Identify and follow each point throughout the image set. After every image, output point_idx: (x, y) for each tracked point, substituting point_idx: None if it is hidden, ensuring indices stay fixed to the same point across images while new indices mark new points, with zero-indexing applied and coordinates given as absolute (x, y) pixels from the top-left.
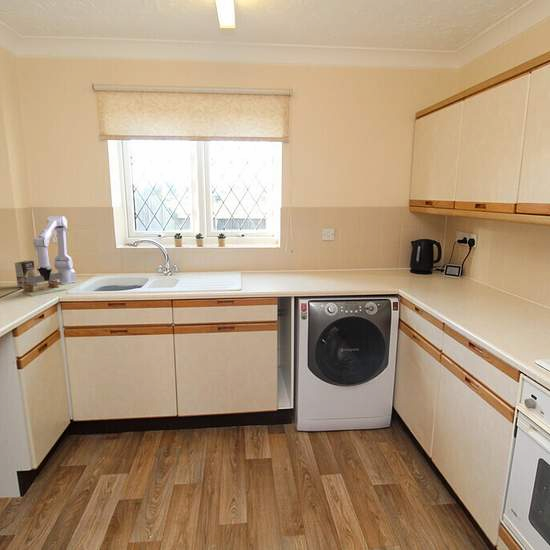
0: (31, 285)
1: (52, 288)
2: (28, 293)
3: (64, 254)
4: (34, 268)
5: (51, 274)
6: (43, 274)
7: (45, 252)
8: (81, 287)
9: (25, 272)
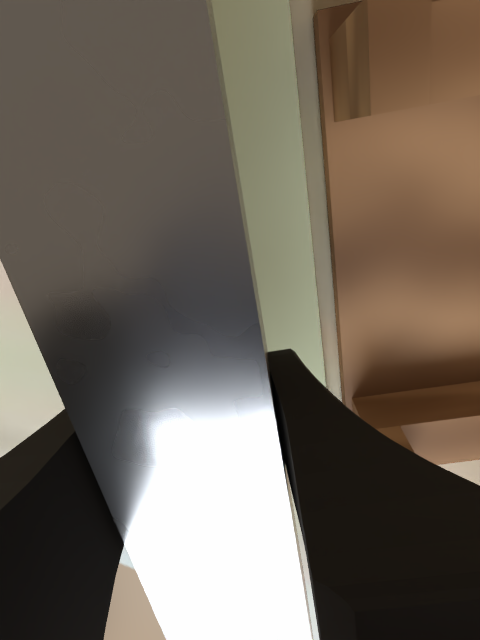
0: (363, 85)
1: (342, 377)
2: (233, 6)
3: None
4: None
5: (173, 592)
6: (18, 473)
7: None
8: None
9: None
